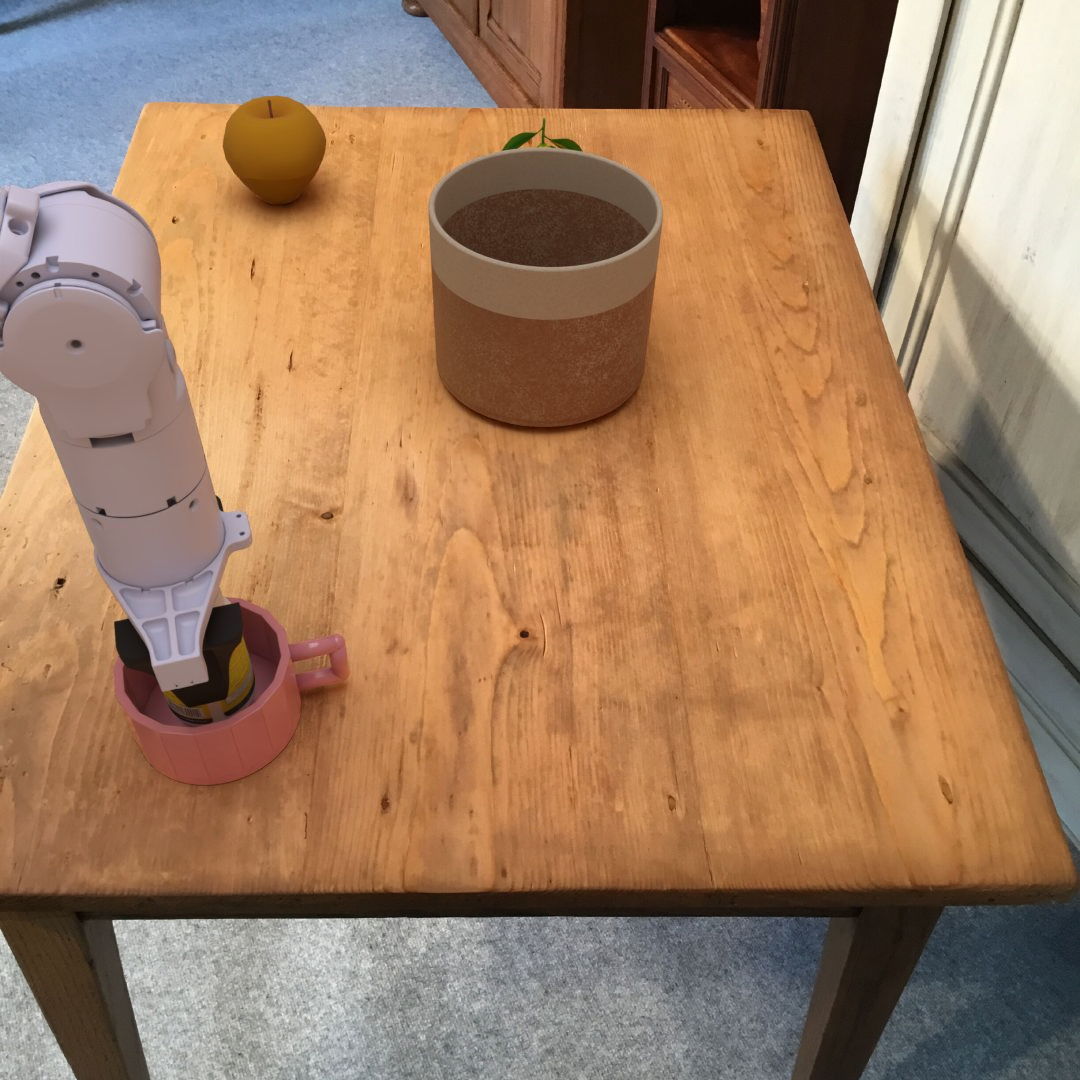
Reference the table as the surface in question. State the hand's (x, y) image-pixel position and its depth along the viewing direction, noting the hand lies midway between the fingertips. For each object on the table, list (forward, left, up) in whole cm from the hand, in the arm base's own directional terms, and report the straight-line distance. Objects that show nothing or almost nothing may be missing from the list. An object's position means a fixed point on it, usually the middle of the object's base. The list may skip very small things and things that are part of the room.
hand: (201, 659), depth 57 cm
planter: (+27, +25, -5) cm, 37 cm away
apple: (+12, +55, -5) cm, 57 cm away
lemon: (+33, +44, -5) cm, 55 cm away
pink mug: (+2, 0, -5) cm, 5 cm away
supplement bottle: (0, 0, -3) cm, 3 cm away
